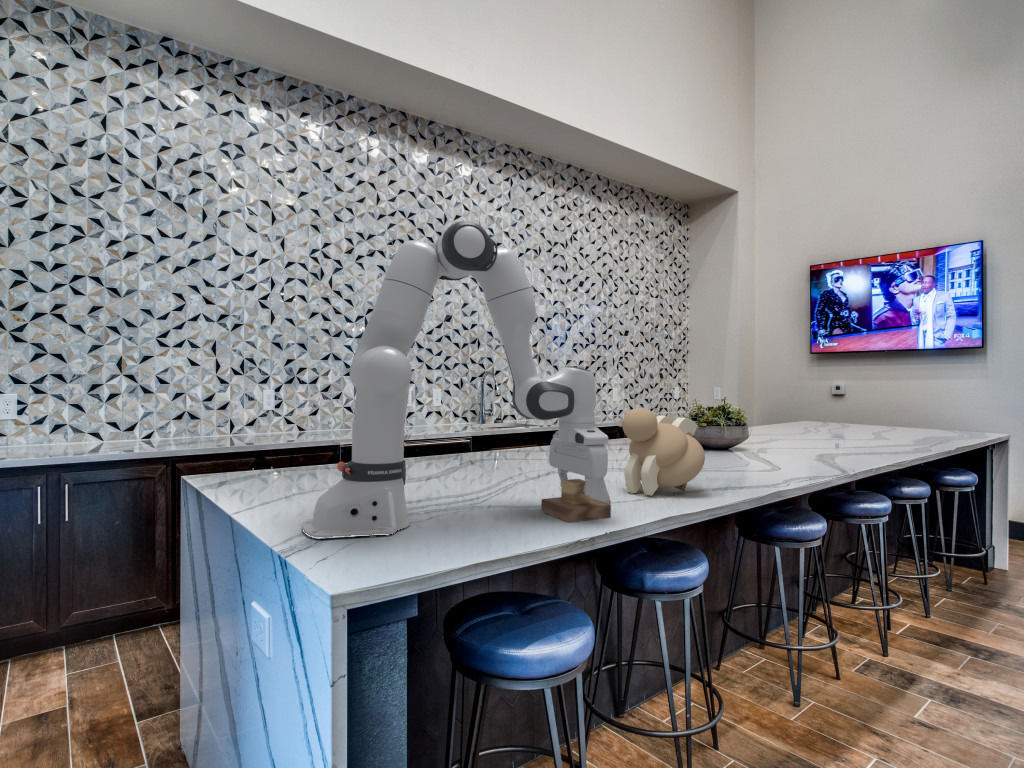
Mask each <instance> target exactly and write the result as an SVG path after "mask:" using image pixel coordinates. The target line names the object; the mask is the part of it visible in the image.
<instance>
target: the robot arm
mask: <svg viewBox="0 0 1024 768" xmlns="http://www.w3.org/2000/svg"><path fill="white" fill-rule="evenodd" d="M520 260H521V259H519V256H518V255H517V254H516V252H515V251H514V250H513V249H511V248H508V247H498V244H497V243H496V241H495V240H493V239H492V238H491V236H489V234H488V232H487V231H486V230H485V229H484V228H483V227H482V226H481V225H479V223H476V222H474V221H471V220H470V221H469V220H462V221H458V222H456V223H452V224H451V225H450V226H448V228H447V229H446V230H445V231H444V232H443V233H441V235H440V236H439V237H438V238H437V240H436V241H435V242H433V243H426V242H425V241H422V240H415V239H414V240H413V239H412V240H406V241H405V242H403V243H402V244H401V245H399V247H398V249H397V251H396V253H394V256H393V258H392V260H391V262H390V264H389V266H388V269H387V270H386V273H385V276H384V277H383V281H382V284H381V286H380V289H379V293H378V295H377V298H376V300H375V303H374V305H373V310H372V313H371V315H370V317H369V319H368V321H367V324H366V326H365V329H364V331H363V333H362V335H361V338H360V339H359V343H358V345H357V348H356V350H355V353H354V355H353V358H352V360H351V363H350V366H349V379H350V381H351V383H352V385H353V386H354V388H355V389H356V391H355V392H356V393H355V401H354V402H355V404H354V411H353V418H352V419H353V420H352V424H351V426H352V428H351V431H352V432H351V436H352V438H351V442H352V443H351V460H350V461H348V462H347V463H346V462H344V461H339V462H338V463H337V464H336V469H337V470H338V471H339V472H340V473H341V478H342V479H341V480H339V481H338V482H337V483H336V484H334V485H333V486H332V487H330V488H329V489H328V490H327V491H326V492H324V493H323V494H321V495H320V496H319V497H318V499H317V500H316V503H315V506H314V510H313V515H312V516H313V517H312V518H311V519H307V520H305V521H304V522H303V524H302V525H301V526H302V527H301V529H302V528H303V530H304V532H305V533H307V534H308V535H310V536H314V537H333V536H351V535H372V534H373V535H374V534H392V533H394V532H396V531H397V530H398V531H400V529H401V530H403V528H404V529H405V528H408V527H409V526H410V525H411V521H410V517H409V514H408V508H407V503H406V502H407V501H406V496H405V495H406V493H405V485H406V480H407V467H406V460H405V459H404V456H405V455H404V453H405V452H404V451H405V447H404V445H405V423H406V422H405V421H406V415H407V414H406V413H407V408H408V401H409V394H410V393H409V392H410V386H411V385H410V384H411V379H412V374H413V373H412V372H413V371H412V370H413V369H412V365H411V362H410V361H409V359H408V355H409V353H410V351H411V349H412V347H413V345H414V343H415V341H416V339H417V337H418V335H419V334H420V332H421V329H422V327H423V324H424V321H425V317H426V315H427V311H428V308H429V306H430V303H431V300H432V297H433V293H434V292H435V291H434V290H435V287H436V285H437V283H438V281H439V280H442V281H453V282H454V281H461V280H463V279H465V278H467V277H469V276H471V277H472V278H473V279H474V280H476V281H477V283H478V284H479V286H480V287H481V289H482V292H483V296H484V299H485V302H486V306H487V308H488V311H489V313H490V316H491V319H492V321H493V323H494V326H495V328H496V330H497V333H498V335H499V337H500V340H501V343H502V345H503V348H504V352H505V357H506V361H507V362H508V366H509V367H508V368H509V369H510V370H509V371H510V373H511V374H510V375H511V378H512V393H511V395H512V396H511V399H512V405H513V408H514V410H515V411H516V413H517V414H518V415H519V416H521V417H522V418H524V419H528V420H538V421H545V422H546V421H550V420H551V421H552V420H554V419H555V420H556V419H558V430H556V431H555V433H554V434H553V435H552V439H551V441H550V446H549V455H548V464H549V466H550V467H552V468H555V469H557V475H558V477H559V480H560V487H562V480H569V478H568V473H573V474H576V475H581V476H584V480H585V481H586V483H585V486H584V487H582V490H583V491H582V493H583V494H584V495H591V494H592V487H593V485H594V483H595V479H596V478H605V477H606V475H607V474H608V462H609V456H608V455H609V453H608V449H607V446H606V445H608V443H609V436H608V435H607V434H606V433H605V432H603V431H602V430H600V429H599V428H598V427H597V426H596V416H595V408H596V405H597V400H596V399H597V389H596V380H595V376H594V373H593V372H592V371H591V370H589V369H587V368H583V367H579V366H571V365H570V366H569V365H568V366H567V365H566V366H563V367H562V368H561V369H560V370H558V371H557V372H555V373H554V374H550V375H549V376H546V377H544V378H541V377H540V376H539V373H538V371H537V368H536V364H535V361H534V357H533V354H532V350H531V345H530V335H531V331H532V328H533V325H534V323H535V321H536V318H537V308H536V306H537V305H536V300H535V297H534V293H533V290H532V289H533V288H532V286H531V284H530V281H529V278H528V276H527V273H526V271H525V269H524V267H523V264H522V262H521V261H520ZM398 531H397V532H398ZM397 532H396V533H397ZM394 534H395V533H394ZM392 535H393V534H392Z"/></svg>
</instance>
